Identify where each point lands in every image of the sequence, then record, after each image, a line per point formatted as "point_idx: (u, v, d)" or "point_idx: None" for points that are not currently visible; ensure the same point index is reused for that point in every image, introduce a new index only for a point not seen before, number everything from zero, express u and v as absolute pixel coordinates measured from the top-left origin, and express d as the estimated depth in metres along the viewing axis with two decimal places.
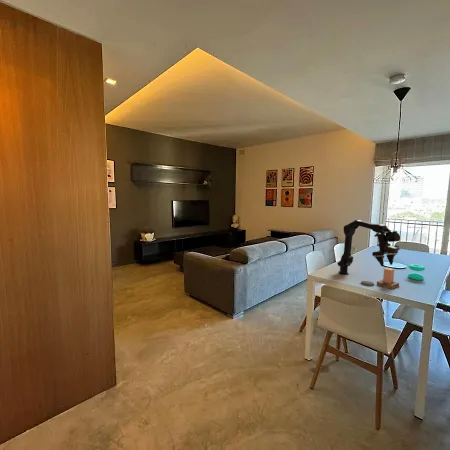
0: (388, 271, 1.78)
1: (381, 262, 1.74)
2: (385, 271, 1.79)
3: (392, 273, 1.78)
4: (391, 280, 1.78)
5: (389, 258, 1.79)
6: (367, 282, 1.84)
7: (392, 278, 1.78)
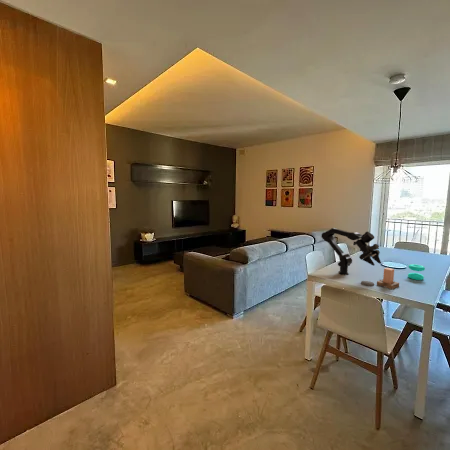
0: (388, 271, 1.78)
1: (371, 262, 1.84)
2: (385, 271, 1.79)
3: (392, 273, 1.78)
4: (391, 280, 1.78)
5: (375, 259, 1.91)
6: (367, 282, 1.84)
7: (391, 278, 1.78)
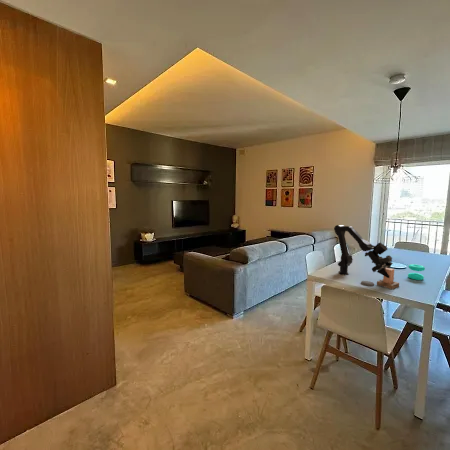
0: (388, 271, 1.78)
1: (385, 274, 1.78)
2: None
3: (392, 273, 1.78)
4: (391, 280, 1.78)
5: None
6: (367, 282, 1.84)
7: (392, 278, 1.78)
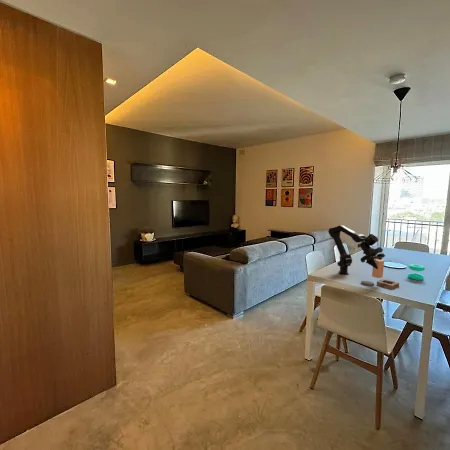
0: (377, 262, 1.79)
1: (374, 265, 1.79)
2: None
3: (381, 264, 1.78)
4: (379, 272, 1.78)
5: None
6: (367, 282, 1.84)
7: (380, 269, 1.79)
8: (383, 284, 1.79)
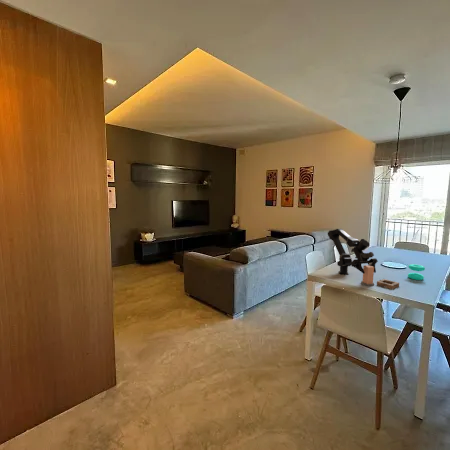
0: (366, 268, 1.81)
1: (361, 269, 1.82)
2: (364, 268, 1.83)
3: (371, 270, 1.80)
4: (369, 277, 1.81)
5: None
6: None
7: (370, 275, 1.81)
8: (383, 284, 1.79)
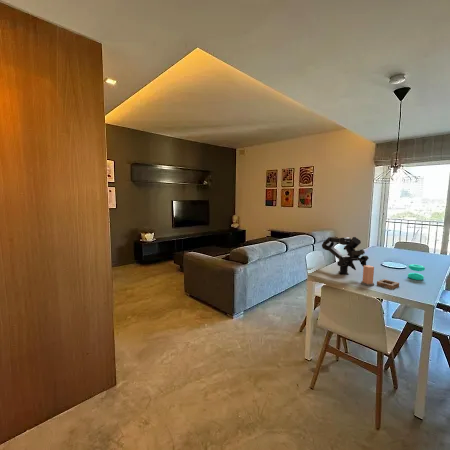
0: (366, 268, 1.81)
1: (352, 266, 1.90)
2: (364, 268, 1.83)
3: (371, 270, 1.80)
4: (369, 277, 1.81)
5: (363, 264, 1.94)
6: None
7: (370, 275, 1.81)
8: (383, 284, 1.79)
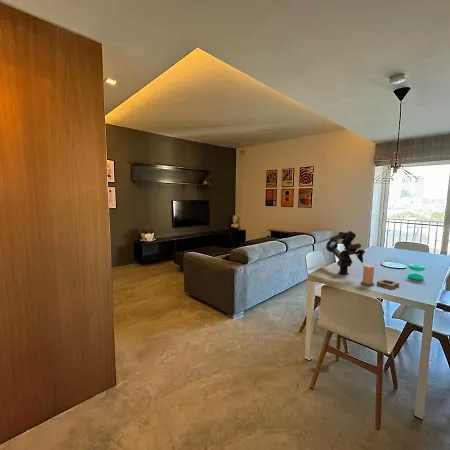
0: (366, 268, 1.81)
1: (349, 260, 1.93)
2: (364, 268, 1.83)
3: (371, 270, 1.80)
4: (369, 277, 1.81)
5: (359, 258, 1.97)
6: None
7: (370, 275, 1.81)
8: (383, 284, 1.79)
